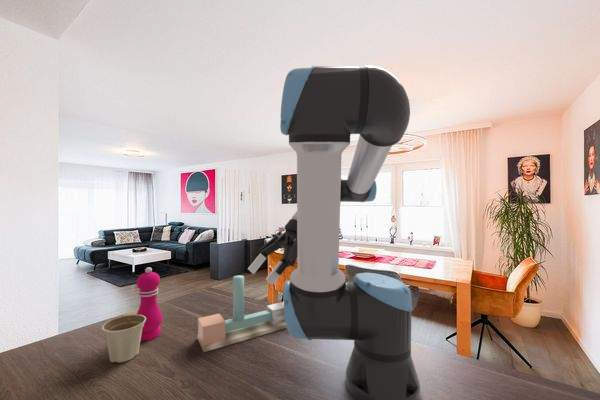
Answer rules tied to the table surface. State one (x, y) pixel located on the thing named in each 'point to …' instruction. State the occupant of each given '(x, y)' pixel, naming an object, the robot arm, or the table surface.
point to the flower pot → (123, 337)
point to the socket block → (211, 329)
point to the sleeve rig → (252, 329)
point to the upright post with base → (238, 308)
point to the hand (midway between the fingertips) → (259, 276)
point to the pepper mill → (149, 304)
